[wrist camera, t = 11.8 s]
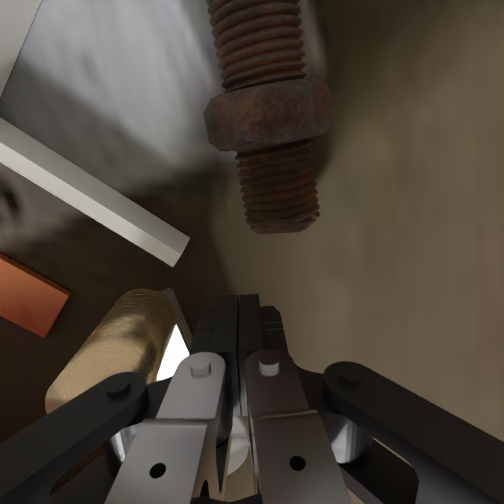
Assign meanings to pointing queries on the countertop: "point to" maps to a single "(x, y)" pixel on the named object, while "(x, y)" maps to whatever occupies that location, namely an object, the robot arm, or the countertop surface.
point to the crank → (137, 353)
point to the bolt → (268, 111)
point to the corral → (65, 172)
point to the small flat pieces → (30, 298)
